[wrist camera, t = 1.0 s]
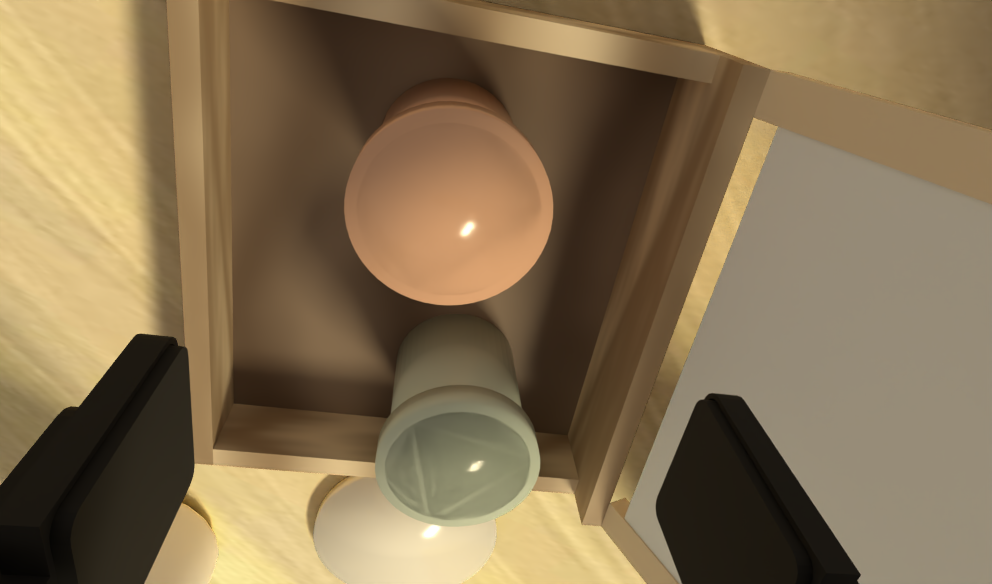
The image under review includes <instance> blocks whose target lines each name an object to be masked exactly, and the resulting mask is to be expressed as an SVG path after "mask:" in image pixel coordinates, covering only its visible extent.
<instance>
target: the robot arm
mask: <svg viewBox="0 0 992 584" xmlns="http://www.w3.org/2000/svg"><path fill="white" fill-rule="evenodd" d="M194 464H195V461H194V443H193V426H192V408H191V391H190V373H189V356H188V350H187V348H186V347H182V346H178V343H177V340H176V339H175V338H174V337H168V336H158V335H148V334H137V335H136V336H135V337H133V339H132V340H131V341H130V343H129V344H128V345H127V346H126V348H125V349H124V350H123V351H122V353H121V354H120V355H119V357H118V358H117V359H116V360H115V362H114V363H113V364H112V365H111V367H110V368H109V369H108V371H107V372H106V373H105V374H104V376H103V377H102V378H101V380H100V381H99V382H98V383H97V385H96V386H95V387H94V388H93V390H92V391H91V392H90V394H89V395H88V396H87V397H86V399H85V400H84V401H83V403H82V404H81V405H80V406H79V407H68V408H66V409H64V410H63V411H62V412H61V413H60V414H59V415H58V416H57V417H56V418H55V419H54V420H53V422H52V423H51V424H50V425H49V427H48V428H47V429H46V430H45V431H44V433H43V434H42V435H41V436H40V438H39V439H38V440H37V441H36V443H35V444H34V445H33V446H32V447H31V449H30V450H29V451H28V452H27V454H26V455H25V456H24V457H23V458H22V460H21V461H20V462H19V463H18V465H17V466H16V467H15V468H14V469H13V471H12V472H11V473H10V474H9V476H8V477H7V478H6V479H5V481H4V482H3V483H2V484H1V485H0V584H144V583H145V581H146V579H147V577H148V575H149V572H150V570H151V568H152V566H153V564H154V562H155V559H156V557H157V555H158V553H159V551H160V549H161V547H162V544H163V542H164V540H165V538H166V536H167V534H168V531H169V529H170V527H171V525H172V523H173V521H174V519H175V516H176V514H177V512H178V510H179V508H180V506H181V503H182V501H183V499H184V497H185V495H186V493H187V491H188V488H189V486H190V484H191V481H192V478H193V473H194ZM656 516H657V519H658V522H659V524H660V527H661V530H662V532H663V535H664V538H665V540H666V543H667V546H668V548H669V551H670V554H671V556H672V559H673V561H674V564H675V567H676V569H677V572H678V575H679V577H680V580H681V583H682V584H859V583H858V581H857V580H858V579H859V577H860V576H861V574H860V573H859V571H858V570H857V568H856V567H855V565H854V564H853V562H852V561H851V559H850V558H849V556H848V555H847V553H846V552H845V550H844V549H843V547H842V546H841V544H840V543H839V541H838V540H837V538H836V537H835V535H834V534H833V532H832V531H831V529H830V528H829V526H828V525H827V523H826V522H825V520H824V519H823V517H822V516H821V514H820V513H819V511H818V510H817V508H816V507H815V505H814V504H813V502H812V501H811V499H810V498H809V496H808V495H807V493H806V492H805V490H804V489H803V487H802V486H801V484H800V483H799V481H798V480H797V478H796V477H795V475H794V474H793V472H792V471H791V469H790V468H789V466H788V465H787V463H786V462H785V460H784V459H783V457H782V456H781V454H780V453H779V451H778V450H777V448H776V447H775V445H774V444H773V442H772V441H771V439H770V438H769V436H768V435H767V433H766V432H765V430H764V429H763V427H762V426H761V424H760V423H759V421H758V420H757V418H756V417H755V416H754V414H753V413H752V411H751V410H750V408H749V407H748V405H747V404H746V402H745V401H744V399H743V398H742V397H740V396H737V395H727V394H718V393H710V394H708V395H707V396H706V397H705V399H704V400H703V399H701V400H699V401H698V402H697V403H696V405H695V407H694V409H693V412H692V414H691V416H690V419H689V421H688V424H687V426H686V429H685V431H684V433H683V436H682V438H681V441H680V443H679V445H678V448H677V450H676V453H675V455H674V458H673V460H672V462H671V465H670V467H669V470H668V472H667V474H666V477H665V479H664V482H663V484H662V487H661V489H660V491H659V494H658V496H657V499H656Z"/></svg>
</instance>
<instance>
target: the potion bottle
mask: <svg viewBox="0 0 992 584" xmlns="http://www.w3.org/2000/svg"><path fill="white" fill-rule="evenodd" d="M218 555H219V549H218V545H217V540H216V536H215V533H214V532H213V530H212V529H211V527H210V526H209V524H208V523H207V521H206V520H205V519H204V518H203V517H202V516H201V515H199V514H198V513H197V512H196V511H194V510H193V509H192V508H190V507H189V506H188V505H186V504H183V503H181V506H180V508H179V510H178V512H177V514H176V516H175V519H174V521H173V523H172V525H171V527H170V529H169V531H168V534H167V536H166V538H165V540H164V542H163V544H162V547H161V549H160V551H159V553H158V555H157V557H156V559H155V562H154V564H153V566H152V568H151V570H150V572H149V575H148V577H147V579H146V581H145V583H144V584H209V582H210V580H211V577H212V574H213V571H214V569H215V565H216V562H217V558H218Z"/></svg>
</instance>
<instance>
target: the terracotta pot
mask: <svg viewBox="0 0 992 584" xmlns="http://www.w3.org/2000/svg"><path fill="white" fill-rule="evenodd" d="M344 214H345V222H346V227H347V231H348V234H349V238H350V240H351V243H352V245H353V247H354V249H355V251H356V253H357V254H358V256H359V258H360V259H361V261H362V262H363V263H364V265H365V266H366V267H367V268H368V270H369V271H370V272H371V273H372V274H373V275H374V276H375V277H376V278H377V279H378V280H380V281H381V282H382V283H384V284H385V285H386V286H388V287H389V288H391V289H393V290H394V291H396V292H398V293H399V294H402V295H404V296H406V297H409V298H411V299H414V300H417V301H421V302H424V303H430V304H435V305H463V304H469V303H474V302H478V301H481V300H485V299H488V298H490V297H492V296H495V295H497V294H499V293H501V292H503V291H504V290H506V289H508V288H509V287H511V286H512V285H514V284H515V283H516V282H518V281H519V280H520V279H521V278H522V277H523V276H524V275H525V274H526V273H527V272H528V271H529V270H530V269H531V268H532V266H533V265H534V264H535V263H536V261H537V259H538V258H539V256H540V255H541V253H542V251H543V249H544V247H545V245H546V243H547V240H548V237H549V234H550V231H551V225H552V220H553V197H552V190H551V186H550V182H549V179H548V176H547V174H546V171H545V169H544V166H543V164H542V162H541V160H540V158H539V156H538V154H537V152H536V150H535V149H534V147H533V145H532V144H531V143H530V141H529V140H528V139H527V137H526V136H525V135H524V134H523V133H522V132H521V131H520V130H519V129H518V128H517V127H516V126H515V125H514V124H513V122H512V120H511V117H510V116H509V114H508V112H507V110H506V109H505V108H504V106H503V105H502V104H501V102H500V101H499V100H498V99H497V98H496V97H495V96H494V95H492V94H491V93H490V92H488V91H487V90H486V89H484V88H482V87H480V86H479V85H476V84H474V83H471V82H469V81H465V80H461V79H454V78H439V79H432V80H428V81H425V82H422V83H420V84H417V85H415V86H413V87H412V88H410V89H408V90H407V91H405V92H404V93H403V94H402V95H401V96H399V97H398V98H397V99H396V101H395V102H394V103H393V104H392V105H391V107H390V108H389V110H388V111H387V113H386V115H385V117H384V119H383V121H382V124H381V126H380V127H379V128H378V129H377V130H376V131H375V132H374V133H373V134H372V135H371V136H370V137H369V139H368V140H367V141H366V143H365V144H364V146H363V147H362V149H361V150H360V152H359V155H358V157H357V159H356V161H355V163H354V166H353V168H352V171H351V173H350V176H349V179H348V183H347V186H346V192H345V199H344Z"/></svg>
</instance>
